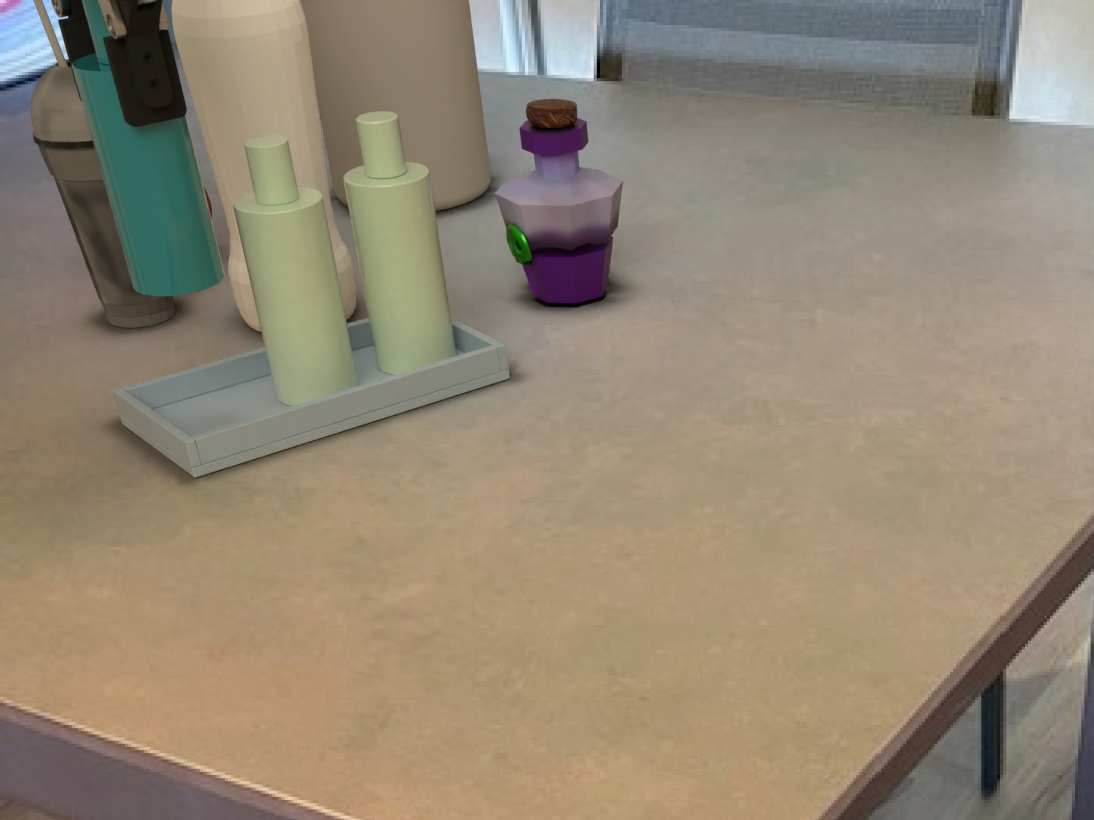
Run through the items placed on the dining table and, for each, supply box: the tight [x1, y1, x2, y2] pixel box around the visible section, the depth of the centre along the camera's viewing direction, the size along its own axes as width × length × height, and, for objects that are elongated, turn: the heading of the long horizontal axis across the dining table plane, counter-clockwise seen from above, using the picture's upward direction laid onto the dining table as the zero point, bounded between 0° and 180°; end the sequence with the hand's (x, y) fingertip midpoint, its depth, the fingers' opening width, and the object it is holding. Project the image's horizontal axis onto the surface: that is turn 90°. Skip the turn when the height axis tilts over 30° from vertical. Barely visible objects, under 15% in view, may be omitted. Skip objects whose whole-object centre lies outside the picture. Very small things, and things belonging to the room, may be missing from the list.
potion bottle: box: [494, 98, 624, 308], centre depth 109 cm, size 9×9×12 cm
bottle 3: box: [343, 111, 457, 375], centre depth 99 cm, size 5×5×14 cm
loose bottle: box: [72, 0, 226, 297], centre depth 87 cm, size 5×5×14 cm
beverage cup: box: [30, 0, 176, 329], centre depth 106 cm, size 7×7×20 cm
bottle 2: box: [233, 135, 359, 406], centre depth 95 cm, size 5×5×14 cm
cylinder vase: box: [300, 0, 492, 212], centre depth 123 cm, size 12×12×25 cm
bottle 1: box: [170, 0, 357, 333], centre depth 101 cm, size 8×8×30 cm
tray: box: [112, 317, 511, 479], centre depth 100 cm, size 21×10×2 cm, turn 129°
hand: (133, 106), depth 86 cm, fingers closed on loose bottle, 5 cm apart
